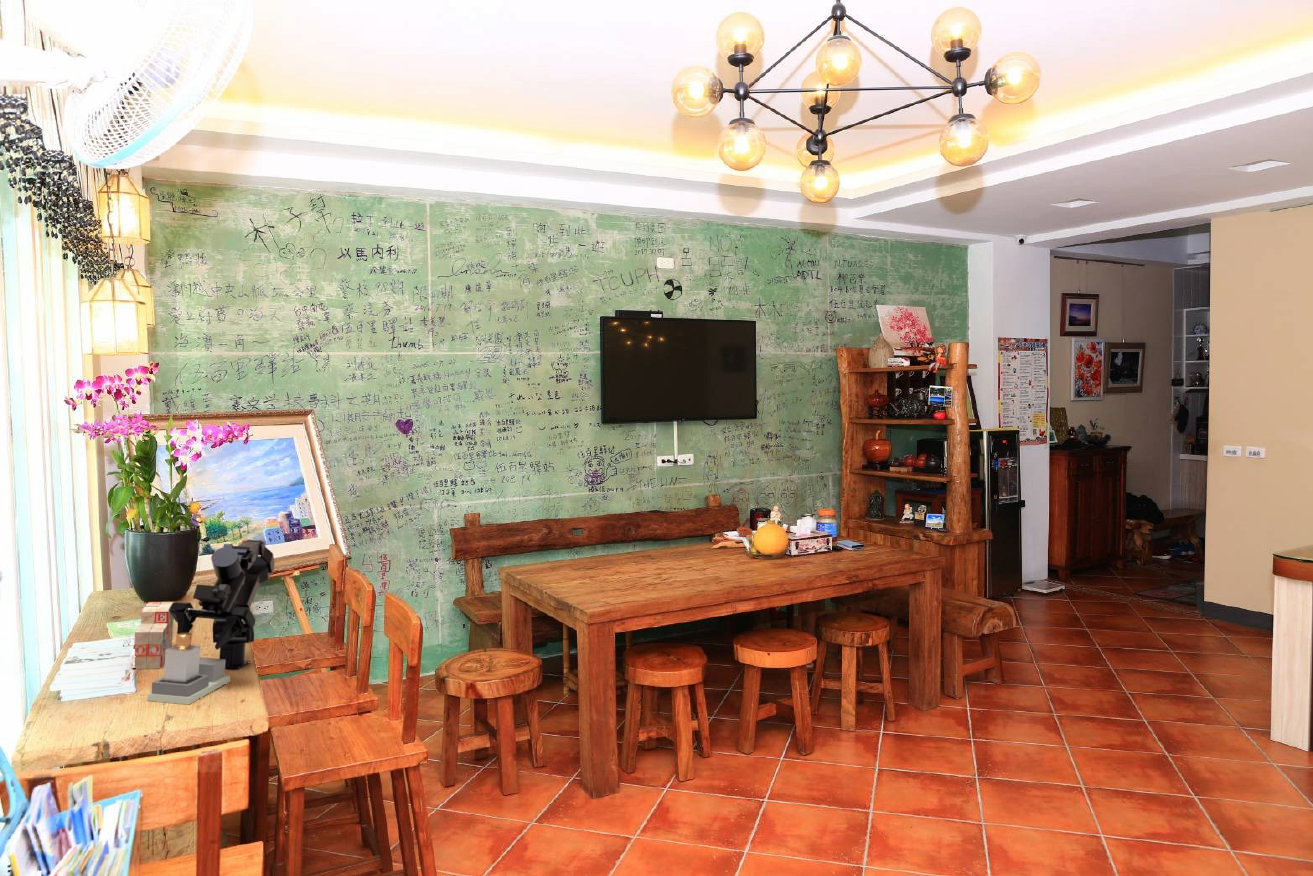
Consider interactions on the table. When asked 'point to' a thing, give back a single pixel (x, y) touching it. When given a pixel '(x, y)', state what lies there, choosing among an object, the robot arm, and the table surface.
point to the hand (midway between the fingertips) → (196, 646)
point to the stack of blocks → (153, 635)
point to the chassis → (191, 684)
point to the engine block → (182, 661)
